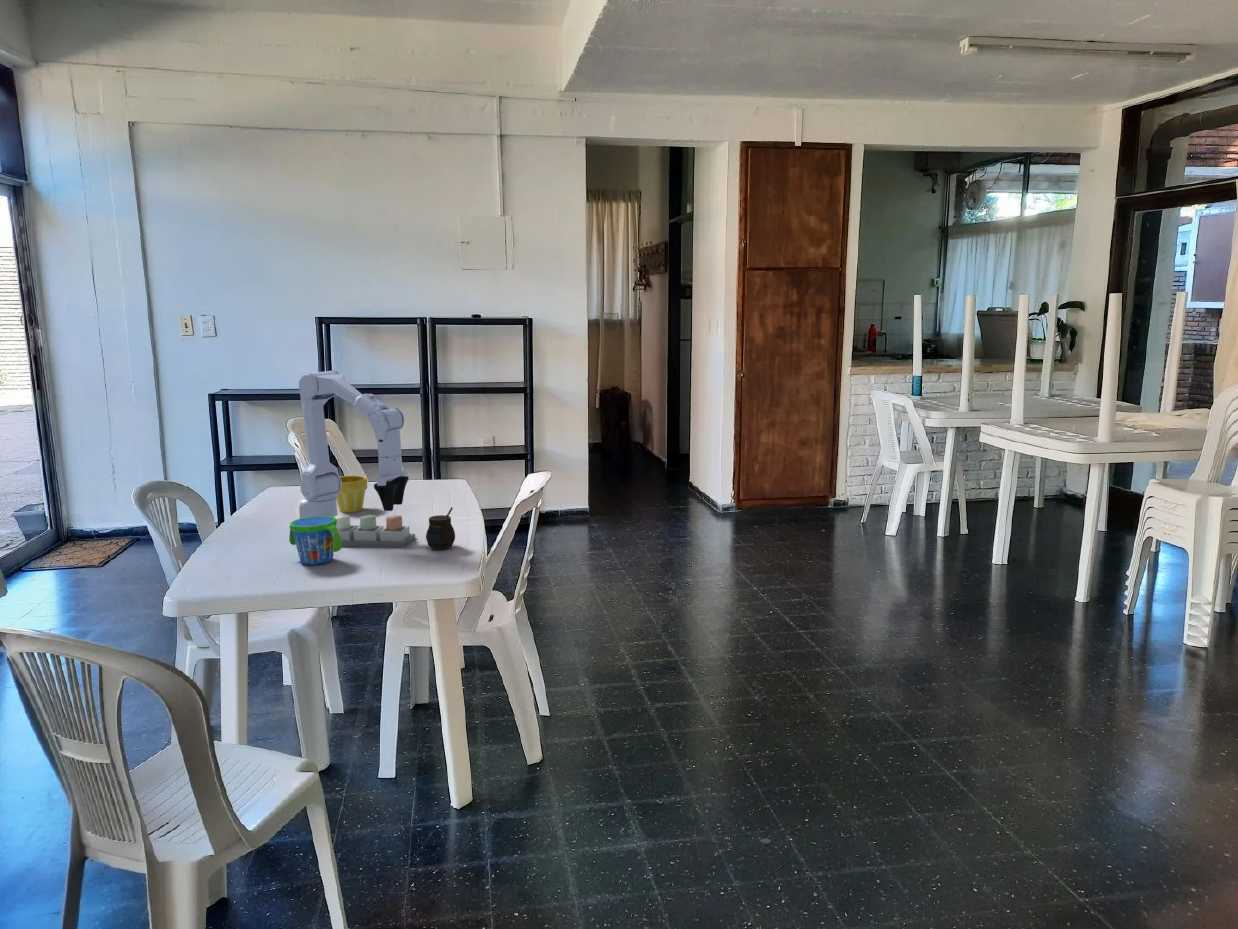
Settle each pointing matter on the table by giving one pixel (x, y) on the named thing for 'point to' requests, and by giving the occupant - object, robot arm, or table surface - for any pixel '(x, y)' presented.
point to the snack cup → (315, 539)
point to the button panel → (376, 537)
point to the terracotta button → (394, 523)
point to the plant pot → (352, 493)
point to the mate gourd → (440, 532)
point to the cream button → (343, 522)
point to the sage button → (368, 523)
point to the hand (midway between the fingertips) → (393, 507)
